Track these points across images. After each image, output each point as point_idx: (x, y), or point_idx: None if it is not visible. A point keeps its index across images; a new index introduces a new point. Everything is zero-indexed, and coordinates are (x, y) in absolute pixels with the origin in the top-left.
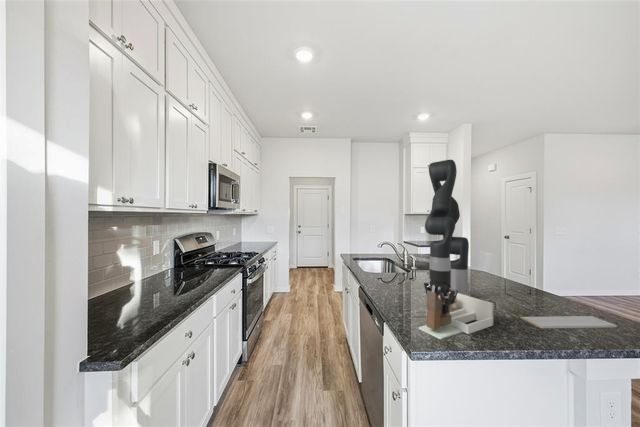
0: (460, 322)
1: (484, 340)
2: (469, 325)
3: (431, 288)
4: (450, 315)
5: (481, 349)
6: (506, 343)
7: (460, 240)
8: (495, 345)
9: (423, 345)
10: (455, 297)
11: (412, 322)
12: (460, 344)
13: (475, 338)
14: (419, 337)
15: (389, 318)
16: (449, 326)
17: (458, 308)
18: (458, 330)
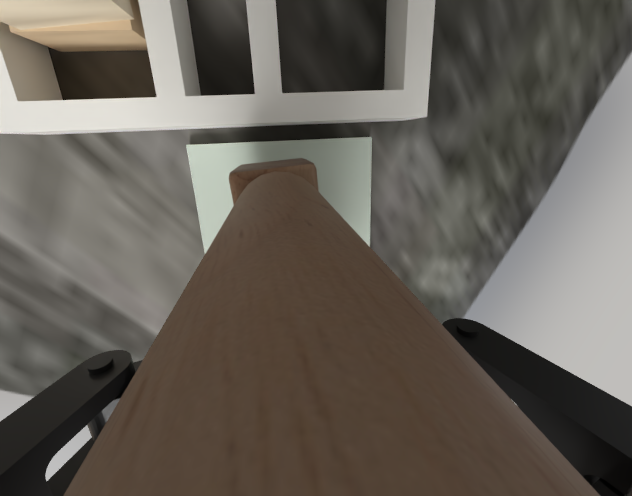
0: (355, 105)
1: (498, 105)
2: (424, 91)
3: None
4: (315, 178)
5: (526, 221)
6: (596, 8)
7: None
8: (559, 107)
9: None
10: (605, 403)
11: (130, 307)
12: (444, 271)
13: (456, 132)
14: None
15: (33, 390)
16: (287, 153)
17: None
18: (357, 152)
